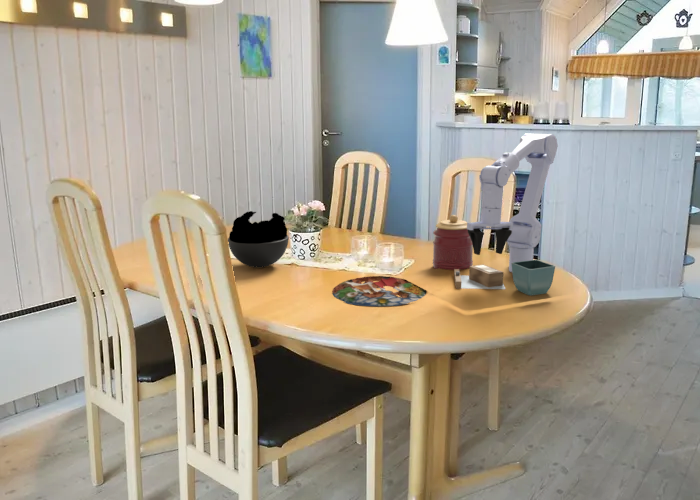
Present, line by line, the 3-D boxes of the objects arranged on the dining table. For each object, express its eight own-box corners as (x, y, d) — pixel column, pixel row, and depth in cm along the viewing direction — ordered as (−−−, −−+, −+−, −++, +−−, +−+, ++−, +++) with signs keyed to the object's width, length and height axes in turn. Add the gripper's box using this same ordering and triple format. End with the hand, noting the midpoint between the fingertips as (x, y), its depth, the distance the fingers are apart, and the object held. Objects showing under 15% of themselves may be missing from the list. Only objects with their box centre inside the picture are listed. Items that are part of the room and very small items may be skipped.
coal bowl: (218, 266, 220) (214, 211, 215) (267, 256, 233) (265, 204, 228) (250, 278, 205) (248, 219, 201) (301, 266, 218) (299, 211, 214)
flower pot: (509, 292, 187) (510, 262, 185) (535, 289, 190) (536, 259, 188) (527, 301, 179) (529, 269, 177) (554, 297, 182) (556, 266, 180)
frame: (469, 278, 197) (469, 265, 196) (483, 277, 199) (483, 263, 198) (488, 287, 188) (489, 273, 187) (502, 285, 190) (503, 271, 189)
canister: (460, 275, 205) (462, 219, 201) (425, 269, 213) (425, 215, 209) (479, 266, 216) (481, 213, 212) (444, 261, 223) (445, 210, 219)
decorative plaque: (409, 268, 207) (448, 293, 179) (409, 276, 208) (448, 302, 180) (317, 277, 200) (342, 304, 171) (317, 285, 200) (343, 314, 172)
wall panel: (454, 278, 202) (454, 265, 201) (500, 279, 200) (500, 266, 199) (455, 291, 188) (456, 278, 187) (505, 292, 187) (506, 279, 186)
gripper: (478, 209, 182) (474, 257, 185) (520, 209, 188) (516, 255, 190) (464, 206, 189) (461, 252, 191) (506, 206, 194) (502, 251, 197)
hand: (487, 253), depth 191 cm, fingers open, 7 cm apart
